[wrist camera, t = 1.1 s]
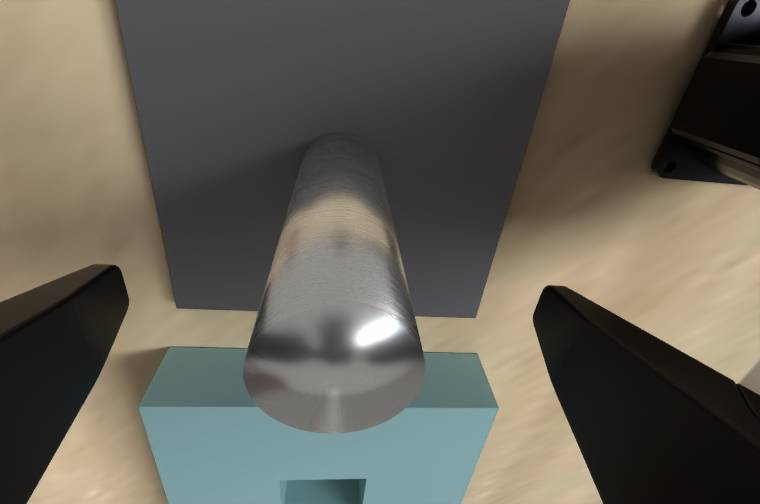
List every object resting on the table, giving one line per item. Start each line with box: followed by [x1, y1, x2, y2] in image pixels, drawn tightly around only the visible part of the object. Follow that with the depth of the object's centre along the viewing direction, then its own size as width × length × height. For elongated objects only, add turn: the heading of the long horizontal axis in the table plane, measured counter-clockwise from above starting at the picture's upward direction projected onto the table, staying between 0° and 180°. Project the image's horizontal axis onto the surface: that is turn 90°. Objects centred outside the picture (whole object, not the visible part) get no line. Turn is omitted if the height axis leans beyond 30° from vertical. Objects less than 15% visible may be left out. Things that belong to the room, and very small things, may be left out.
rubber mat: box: [115, 0, 570, 318], centre depth 15 cm, size 14×14×1 cm
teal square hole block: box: [138, 347, 499, 504], centre depth 23 cm, size 16×16×4 cm
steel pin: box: [243, 132, 426, 434], centre depth 11 cm, size 3×3×10 cm
